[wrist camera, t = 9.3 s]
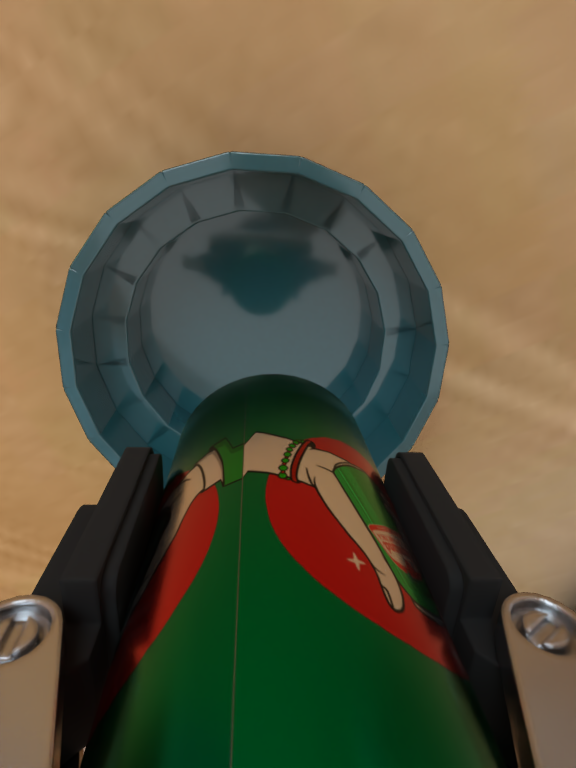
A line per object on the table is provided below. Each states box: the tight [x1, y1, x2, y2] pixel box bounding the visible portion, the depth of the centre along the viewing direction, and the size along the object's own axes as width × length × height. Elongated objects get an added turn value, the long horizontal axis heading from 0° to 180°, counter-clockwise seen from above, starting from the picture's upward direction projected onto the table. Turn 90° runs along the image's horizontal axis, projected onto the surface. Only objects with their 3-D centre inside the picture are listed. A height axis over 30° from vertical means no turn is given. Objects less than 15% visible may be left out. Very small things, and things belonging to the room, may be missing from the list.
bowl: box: [56, 151, 449, 489], centre depth 23 cm, size 16×16×6 cm
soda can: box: [80, 374, 508, 768], centre depth 8 cm, size 5×5×12 cm
